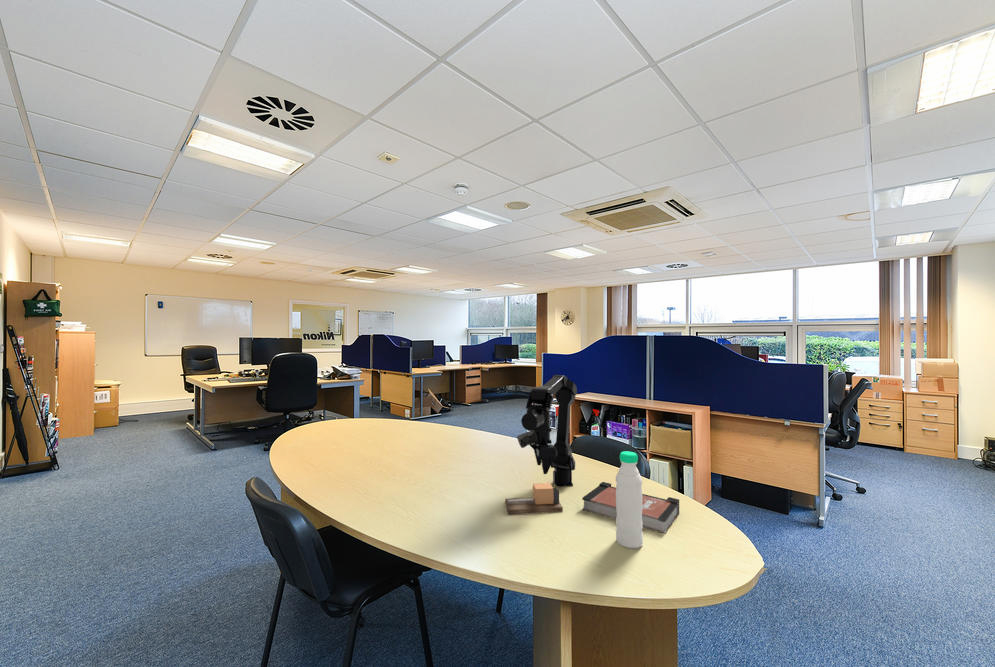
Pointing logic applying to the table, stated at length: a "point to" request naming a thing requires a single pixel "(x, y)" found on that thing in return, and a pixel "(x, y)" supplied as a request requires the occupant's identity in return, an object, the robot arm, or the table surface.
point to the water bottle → (629, 502)
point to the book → (654, 509)
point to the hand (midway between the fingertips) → (541, 469)
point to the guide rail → (532, 501)
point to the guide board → (532, 507)
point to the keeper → (543, 493)
